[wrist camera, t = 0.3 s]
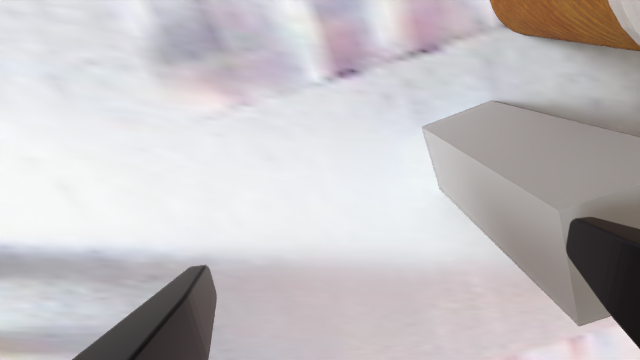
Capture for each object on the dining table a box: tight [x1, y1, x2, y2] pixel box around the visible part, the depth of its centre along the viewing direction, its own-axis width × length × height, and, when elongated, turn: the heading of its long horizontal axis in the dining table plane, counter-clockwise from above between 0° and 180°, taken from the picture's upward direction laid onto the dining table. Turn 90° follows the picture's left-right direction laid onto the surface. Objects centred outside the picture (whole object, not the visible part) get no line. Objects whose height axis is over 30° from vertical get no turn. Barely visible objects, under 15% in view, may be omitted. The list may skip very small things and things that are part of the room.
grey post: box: [422, 101, 640, 326], centre depth 17 cm, size 4×4×13 cm
